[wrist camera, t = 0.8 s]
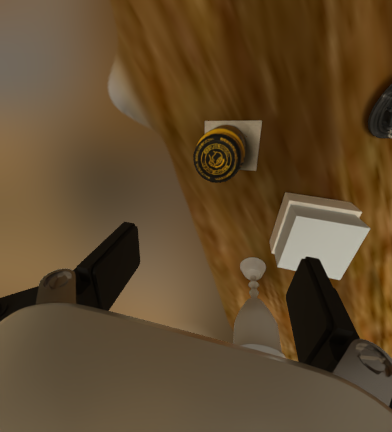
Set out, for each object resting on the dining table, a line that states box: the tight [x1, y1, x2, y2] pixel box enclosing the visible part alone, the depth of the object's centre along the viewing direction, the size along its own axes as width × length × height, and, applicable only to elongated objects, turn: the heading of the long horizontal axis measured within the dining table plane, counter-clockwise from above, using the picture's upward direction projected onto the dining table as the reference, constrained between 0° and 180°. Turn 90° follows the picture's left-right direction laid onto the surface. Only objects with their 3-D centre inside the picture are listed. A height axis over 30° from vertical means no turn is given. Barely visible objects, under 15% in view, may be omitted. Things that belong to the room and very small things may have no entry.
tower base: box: [270, 192, 362, 254], centre depth 34 cm, size 10×10×4 cm
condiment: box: [193, 121, 262, 183], centre depth 27 cm, size 7×8×12 cm
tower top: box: [274, 204, 370, 280], centre depth 30 cm, size 9×9×4 cm
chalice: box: [233, 257, 286, 358], centre depth 34 cm, size 7×7×18 cm
